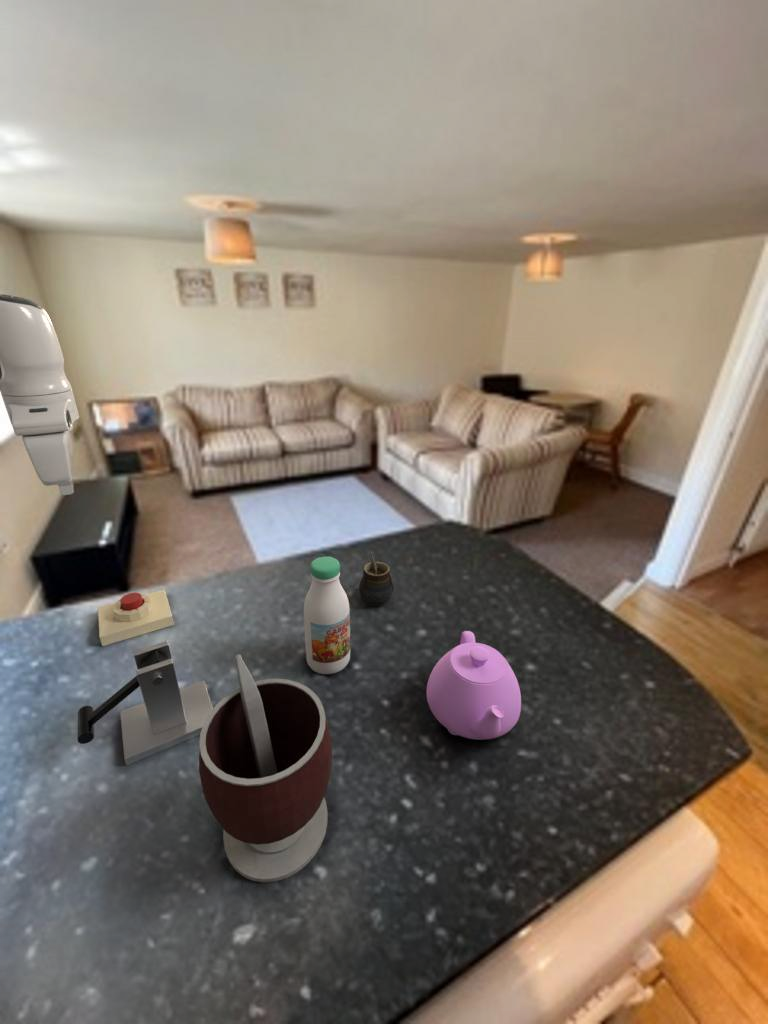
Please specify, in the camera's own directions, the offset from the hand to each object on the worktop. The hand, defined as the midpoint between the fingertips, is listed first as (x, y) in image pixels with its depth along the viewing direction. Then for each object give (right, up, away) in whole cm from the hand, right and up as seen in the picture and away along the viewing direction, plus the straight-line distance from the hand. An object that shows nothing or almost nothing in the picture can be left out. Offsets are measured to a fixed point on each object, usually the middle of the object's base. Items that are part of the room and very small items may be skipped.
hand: (68, 491), depth 75 cm
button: (+5, -21, +10) cm, 24 cm away
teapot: (+67, -35, -6) cm, 76 cm away
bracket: (+21, -35, -9) cm, 42 cm away
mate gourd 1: (+40, -41, -20) cm, 61 cm away
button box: (+5, -25, +12) cm, 28 cm away
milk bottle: (+44, -30, +4) cm, 53 cm away
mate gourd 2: (+52, -22, +20) cm, 59 cm away
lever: (+18, -29, -14) cm, 37 cm away
